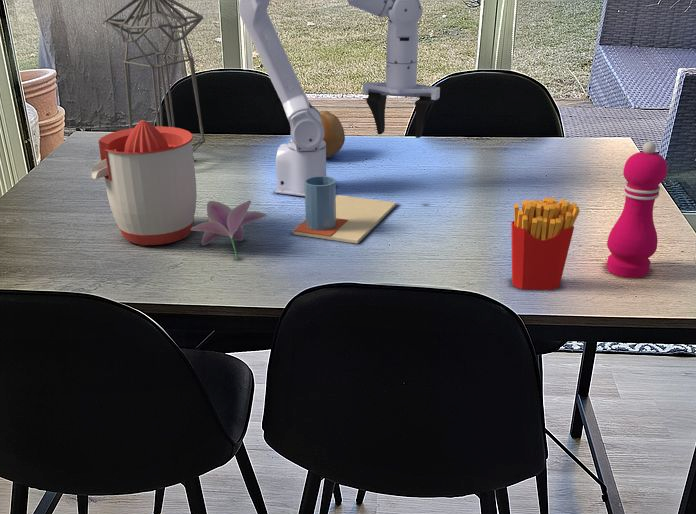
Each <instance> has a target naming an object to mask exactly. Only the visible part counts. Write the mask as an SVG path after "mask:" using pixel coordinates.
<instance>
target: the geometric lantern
mask: <svg viewBox="0 0 696 514" xmlns="http://www.w3.org/2000/svg"><path fill="white" fill-rule="evenodd" d="M170 3H171V4H170ZM134 4H135V6H134V7H133V9H131V11H130V13H129V14H128V15H127V16H126V18H115V17H117V16H119V14H121V13H122V12H124V11H125V10H128V8H130V7H132V6H133V5H134ZM172 4H173V5H175V6H177V7H178V8H180V9H182V10H185V11H186V12H189V13H190V14H191V15H186V16H184V15H183V14H182V13H180V11H178V10H177V9H176V8H175V7H174V6H173V5H172ZM146 7H147V12H145V9H146ZM153 7H154V11H153ZM163 7H164V8H165V10H167V11H168V13H167V12H165V10H164V9H163ZM175 13H176V14H177V15H176V14H175ZM153 14H155V19H156V24H157V26H153ZM158 15H159V16H160V17H161V18H162V19H163V20H164V21H165V22H166V23H162V24H161V23H160V22H159V16H158ZM145 17H146V19H145V21H144V23H143V25H140V22H141V20H142V19H143V18H145ZM168 17H169V18H172V19H174V20H175V25H174V24H173V23H171V21H170V20H169V18H168ZM190 19H191V20H190ZM131 20H132V21H131ZM182 20H183V21H184V22H182ZM188 20H189V21H188ZM203 20H204V16H203V15H202V14H200V13H199V12H196V11H194V10H192V9H191V8H189V7H188V6H185V4H182V3H180V2H178V1H177V0H130V1H129V2H128V3H126V4H124V5H123V6H122V7H120V8H119V9H118V10H116V11H115V12H114V13H112V14H111V15H109V16H108V17H106V18H105V19H103V20H102V24H103V25H104V24H105V23H106V24H107V25H108V26H110V28H112V30H114V32H115V33H117V34H118V35H119V36H120V37H121V38H122V39H121V40H122V42H123V43H125V54H124V60H122V63H123V67H124V78H125V90H126V103H127V113H128V125H129V126H128V127H129V129H130V128H133V112H132V111H133V110H132V91H131V90H132V88H131V71H130V69H131V68H130V65H134V66H140V67H145V68H151V77H152V88H153V89H152V90H153V98H154V109H155V121H156V126H163V127H164V120H163V106H162V105H163V104H162V91H163V97H164V105H165V110H166V118H167V125H168V127H175V128H176V125H175V115H174V108H173V99H172V92H171V83H170V74H169V73H170V72H169V67H168V66H173V65H177V64H180V63H185V62H189V68H190V76H191V80H192V87H193V93H194V100H195V105H196V111H197V116H198V123H199V131H200V135H199V134H193V133H191V134H192V135H193V138H195V139H198V140H197V141H196V142H192V149H193V153H194V152H195V151H196V150H198V149H199V148H200V146H202V145H203V144H205V143H206V139H205V133H204V127H203V121H202V114H201V107H200V106H201V105H200V98H199V89H198V81H197V75H196V67H195V59H194V56H193V53H192V49H191V46H190V43H189V40H188V35H189V34H190V33H191V32H192V31H193V30H194V29H195V28H196V27H197V26H198V25H199V24H200V23H201V22H202V21H203ZM130 21H131V24H130V25H129V22H130ZM135 23H136V26H135ZM159 23H160V24H159ZM178 24H179V25H178ZM188 25H189V26H188ZM187 26H188V27H187ZM165 28H168V30H170V33H169V32H167V30H165ZM150 29H159V30H160V31H161V32H162V33H163V34H165V36H167V37H168V40H167V42H166V44H165V47H164V49H163V51H162V52H161V51H159V50H158V49H157V48H156V46H155V45H154V44H153V42H152V41H151V40H150V39H149V38H148V37H147V35H146V34H147V33H148V31H150ZM132 30H136V31H132ZM124 32H125V33H126V36H125V35H124ZM176 32H177V33H179V34H181V36H179V37H176V38H175V37H174V35H175V33H176ZM133 35H138V36H136V37H135V38H134V37H133ZM142 37H144V38H145V39H146V41H148V43H149V44H150V45H151V46H152V48H153V49H154V50H155V51H156V52H150V53H145V52H144V51H143V49H142V47H141V46H140V45H139V43H138V41H139V40H140V39H141V38H142ZM179 41H182V42H183V45H184V48H185V52H186V55H184V54H180V53H179V54H177V53H170V52H169V51H170V49H171V46H172V45H173V43H176V42H179ZM130 43H134V45H135V46H136V47H137V49H138V50H139V52H140V53H141V55H138V56H133V57H129V44H130ZM153 55H155V64H152V62H151V61H150V59H149V58H148V56H153ZM159 56H163V57H162V59H161V61H160V60H159V58H160V57H159ZM167 56H175V57H182V58H187V59H182V60H178V61H173V62H169V63H168V57H167ZM128 57H129V58H128ZM140 58H144V59H145V61H146V62H147V64H145V63H137V62H132V61H131V60H137V59H140ZM163 63H164V64H163ZM164 67H165V68H164ZM155 69H156V76H155ZM164 69H165V74H164ZM165 77H166V81H165ZM156 78H157V79H156ZM156 80H157V83H156ZM161 83H162V84H161ZM156 84H157V85H156ZM166 84H167V85H166ZM161 85H162V88H161ZM166 87H167V88H166ZM167 93H168V94H167ZM168 101H169V102H168ZM193 158H194V156H193ZM194 159H195V158H194Z"/></svg>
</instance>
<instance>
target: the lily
mask: <svg viewBox="0 0 696 514" xmlns="http://www.w3.org/2000/svg"><path fill="white" fill-rule="evenodd" d="M251 203H252V201H251V200H248V201H244V202H243V203H240V204H239V205H237V206H235V207H233V208H230V207H229V205H226V204H224V203H223V202H220V201H215V200H209V201H208V202H207V203H206V215H207V218H208V220H207V221H203V222H202V223H199V224H196V225H194V226H192V228H191V229H190V230H191V231H192V232H193V231H195V232H204V233H203V236H202V239H201V245H202V246H205V245H208V244H210V243H211V242H212V241H214V240H217V239H219V238H220V237H222V236H226V237H228V238H230V240H231V244H232V248H233V251H234V254H235V258H236V260H238V259H239V255H238V252H237V249H236V245H235V242H234V240H236V241H239V242H241V241H243V239H244V228H243V227H244V226H246V225H248V224H251V223H252V222H255V221H258V220H260V219H263V218H266V217H267V214H266V213H264V212H260V211H252V210H251V211H250V210H249V208H250V206H251Z"/></svg>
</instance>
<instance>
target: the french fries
mask: <svg viewBox="0 0 696 514" xmlns="http://www.w3.org/2000/svg"><path fill="white" fill-rule="evenodd" d="M556 199H557V198H556V197H551V198H549V197H546V196H543V199H542V200H539V199H538V200H537V199H531V200H530V199H524V200H522V201H521V209H520V205H519V203H513V216H514V219H513V220H512V221H511V222H510V224H511V228H510V229H511V230H510V231H511V232H510V233H511V235H510V236H511V237H510V238H511V283H512V286H513V287H514V288H517V289H520V290H527V291H528V290H529V291H553V290H555V289H558V288H560V286H561V282H562V277H563V273H564V269H565V266H566V261H567V258H568V253H569V251H570V246H571V241H572V238H573V233H574V229H575V226H574V225H575V222H576V220H577V219H578V216H579V214H580V212H581V210H580V207H579V206H578V203H576V202H572V203H570V201H567V200H566V199H564V198H560V199H559V200H558V201H557V200H556Z"/></svg>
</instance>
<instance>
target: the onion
mask: <svg viewBox="0 0 696 514" xmlns="http://www.w3.org/2000/svg"><path fill="white" fill-rule="evenodd" d="M319 113H320V114H321V117H322V125H323V127H324V139H323V140H324V141H325V142H326V160H327V159H330V158H332V157H334V156H336V155H337V154H338V153H339V152H340V151H341V149H342V148H343V146H344V144H345V142H346V141H345V140H346V133H345V129H344V127H343V125H342V122H341V121H340V119H339V118H338V117H337V116H336V115H335V114H334V113H332V112H330V111H328V110H320V111H319Z"/></svg>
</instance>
